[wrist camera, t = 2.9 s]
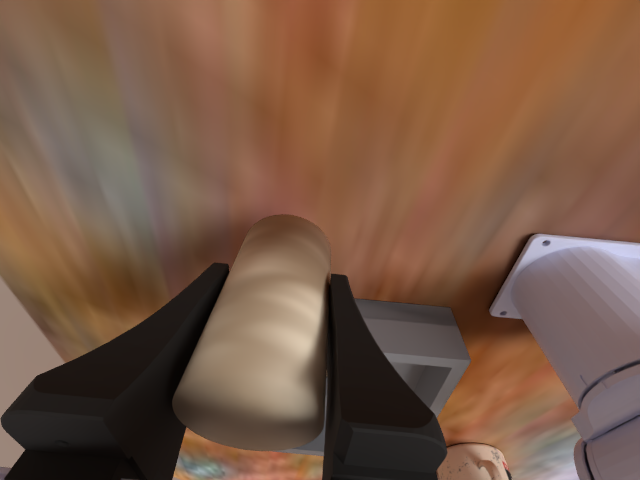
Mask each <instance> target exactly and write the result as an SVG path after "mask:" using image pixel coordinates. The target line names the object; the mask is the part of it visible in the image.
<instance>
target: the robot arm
mask: <svg viewBox="0 0 640 480" xmlns="http://www.w3.org/2000/svg"><path fill="white" fill-rule="evenodd" d="M546 240H547V241H546ZM544 241H546V242H544ZM543 242H544V243H543ZM228 275H229V266H228V264H223V263H213V264H212V265H211V266H210V267H209V268H208V269H206V270H205V271H204V272H203V273H202V274H201V275H200V276H199V277H198V278H197V279H196V280H194V281H193V282H192V283H191V284H190V285H189V286H188V287H187V288H185V289H184V290H183V291H182V292H181V293H180V294H178V295H177V296H176V297H175V298H174V299H172V300H171V301H170V302H168V303H167V304H166V305H165V306H163V307H162V308H161V309H160V310H158V311H157V312H156V313H154V314H153V315H151V316H150V317H149V318H147V319H146V320H144V321H143V322H141V323H140V324H138V325H137V326H135V327H133V328H132V329H130V330H128V331H127V332H125V333H123V334H122V335H120V336H118V337H116V338H115V339H113V340H111V341H110V342H108V343H106V344H104V345H102V346H100V347H98V348H96V349H95V350H93V351H91V352H89V353H87V354H85V355H83V356H80V357H78V358H76V359H74V360H72V361H70V362H67V363H65V364H63V365H61V366H59V367H56V368H54V369H52V370H49V371H47V372H45V373H42V374H40V375H38V376H36V377H35V379H34V380H33V381H32V382H31V383H30V384H29V385H28V387H26V388H25V390H24V391H23V392H22V393H21V394H20V396H19V397H18V398H17V399H16V400H15V401H14V402H13V404H12V405H11V406H10V407H9V408H8V409H7V410H6V412H5V413H4V414H3V415H2V417H1V424H2V427H3V428H4V430H5V431H6V432H7V433H8V434H9V435H10V436H11V437H13V438H14V439H15V440H16V441H17V442H18V443H19V444H20V445H21V446H22V447H23V448H24V449H25V451H24V452H23V454H22V455H21V457H20V458H19V459H18V460H17V462H16V463H15V464H14V466H13V467H12V468H6V467H0V480H172V478H173V475H174V471H175V467H176V463H177V459H178V455H179V451H180V448H181V444H182V440H183V437H184V433H185V430H186V426H185V425H184V424H183V423H182V422H181V421H180V420H179V419H178V418H177V416H176V415H175V413H174V411H173V407H172V400H173V396H174V394H175V392H176V390H177V387H178V385H179V383H180V381H181V379H182V376H183V374H184V372H185V370H186V368H187V365H188V363H189V361H190V359H191V356H192V354H193V352H194V350H195V348H196V345H197V343H198V341H199V339H200V337H201V334H202V332H203V330H204V328H205V325H206V323H207V321H208V319H209V317H210V314H211V312H212V310H213V308H214V306H215V303H216V301H217V299H218V297H219V294H220V292H221V290H222V288H223V286H224V283H225V281H226V279H227V277H228ZM489 312H490V314H491V315H492V316H495V317H505V318H516V319H523V321H524V322H525V324H526V326H527V327H528V329H529V330H530V332H531V333H532V335H533V337H534V338H535V340H536V341H537V343H538V345H539V346H540V348H541V349H542V351H543V353H544V354H545V356H546V357H547V359H548V361H549V362H550V364H551V365H552V367H553V369H554V370H555V372H556V373H557V375H558V377H559V378H560V380H561V381H562V383H563V385H564V386H565V388H566V389H567V391H568V393H569V394H570V396H571V397H572V399H573V401H574V402H575V404H576V405H577V407H578V409H579V410H580V411H579V412H578V413H577V414H576V415H575V416H573V417H572V418H571V420H572V422H573V423H574V425H575V427H576V428H577V430H578V432H579V433H580V435H581V437H582V438H581V439H580V440H579V441H578V442H577V443H576V445H575V448H574V461H575V466H576V470H577V474H578V476H579V479H580V480H640V243H632V242H622V241H611V240H600V239H590V238H579V237H568V236H558V235H547V234H535V235H533V236H531V237H530V239H529V240H528V242H527V244H526V245H525V247H524V249H523V251H522V252H521V254H520V256H519V258H518V259H517V261H516V263H515V265H514V267H513V268H512V270H511V272H510V274H509V275H508V277H507V279H506V281H505V282H504V284H503V286H502V288H501V289H500V291H499V293H498V295H497V297H496V298H495V300H494V302H493V304H492V305H491V307H490V309H489ZM447 453H448V452H447V448H446V443H445V439H444V436H443V433H442V431H441V428H440V425H439V423H438V420H437V418H436V416H435V414H434V413H433V412H432V411H431V410H430V409H429V407H428V406H427V405H426V404H425V403H424V402H423V401H422V400H421V399H420V398H419V397H418V396H417V395H416V394H415V393H414V391H413V390H412V389H411V388H410V387H409V386H408V385H407V383H406V382H405V381H404V380H403V379H402V377H401V376H400V375H399V373H398V372H397V371H396V370H395V368H394V367H393V366H392V364H391V363H390V362H389V360H388V359H387V358H386V356H385V355H384V353H383V352H382V350H381V349H380V347H379V346H378V344H377V343H376V341H375V339H374V338H373V336H372V334H371V332H370V331H369V329H368V327H367V325H366V323H365V321H364V319H363V317H362V315H361V313H360V311H359V309H358V306H357V304H356V302H355V299H354V297H353V294H352V291H351V289H350V285H349V282H348V278H347V276H346V275H338V274H331V280H330V292H329V322H328V347H327V406H326V425H325V443H324V460H323V476H322V480H438V478H437V474H436V470H437V469H438V468H439V466H440V465H441V464H442V462H443V461H444V460H445V458H446V456H447Z"/></svg>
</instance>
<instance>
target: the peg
mask: <svg viewBox="0 0 640 480" xmlns="http://www.w3.org/2000/svg"><path fill="white" fill-rule="evenodd" d="M330 271H331V247H330V243H329V241H328V239H327V237H326V235H325V234H324V233H323V232H322V230H321V229H320V228H319V227H317V226H316V225H315V224H313V223H312V222H310V221H308V220H306V219H304V218H301V217H298V216H294V215H283V214H282V215H273V216H269V217H266V218H264V219H262V220H260V221H258V222H257V223H255V224H254V225H253V226H252V227H251V228H250V230H249V231H248V233H247V235H246V237H245V239H244V241H243V244H242V246H241V248H240V250H239V252H238V255H237V257H236V259H235V261H234V263H233V266H232V268H231V270H230V272H229V275H228V277H227V279H226V281H225V283H224V286H223V288H222V290H221V292H220V294H219V297H218V299H217V301H216V303H215V306H214V308H213V310H212V312H211V314H210V317H209V319H208V321H207V323H206V325H205V328H204V330H203V332H202V334H201V337H200V339H199V341H198V343H197V345H196V348H195V350H194V352H193V354H192V356H191V359H190V361H189V363H188V365H187V368H186V370H185V372H184V374H183V376H182V379H181V381H180V383H179V385H178V387H177V390H176V392H175V394H174V396H173V400H172V407H173V411H174V413H175V415H176V416H177V418H178V419H179V420H180V421H181V422H182V423H183V424H184V425H185V426H186V427H187V428H189V429H190V430H191V431H193V432H195V433H196V434H198V435H200V436H202V437H204V438H206V439H208V440H211V441H213V442H216V443H219V444H222V445H226V446H230V447H234V448H239V449H245V450H254V451H279V450H287V449H292V448H296V447H300V446H302V445H305V444H307V443H309V442H311V441H313V440H314V439H315V438H317V437H318V436H319V435H320V433H321V432H322V430H323V428H324V421H325V397H326V372H327V347H328V322H329V292H330Z"/></svg>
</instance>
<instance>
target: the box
mask: <svg viewBox="0 0 640 480" xmlns="http://www.w3.org/2000/svg"><path fill="white" fill-rule="evenodd" d="M355 302H356V304H357V306H358V309H359V311H360V313H361V315H362V317H363V319H364V321H365V323H366V325H367V327H368V329H369V331H370V332H371V334H372V336H373V338H374V339H375V341H376V343H377V344H378V346H379V347H380V349H381V350H382V352H383V353H384V355H385V356H386V358H387V359H388V360H389V362H390V363H391V364H392V366H393V367H394V368H395V370H396V371H397V372H398V373H399V375H400V376H401V377H402V379H403V380H404V381H405V382H406V383H407V385H408V386H409V387H410V388H411V389H412V390H413V391H414V393H415V394H416V395H417V396H418V397H419V398H420V399H421V400H422V401H423V402H424V403H425V404H426V405H427V406H428V407H429V409H430V410H431V411H432V412H433V413H434V414H435V416H436V418H437V417H438V415H439V413H440V412H441V410H442V408H443V407H444V405H445V403H446V402H447V400H448V399H449V397H450V395H451V394H452V392H453V390H454V389H455V387H456V385H457V384H458V382H459V380H460V379H461V377H462V375H463V374H464V372H465V370H466V369H467V367H468V365H469V364H470V362H471V359H470V356H469V354H468V351H467V349H466V346H465V344H464V341H463V339H462V336H461V334H460V331H459V328H458V326H457V323H456V321H455V318H454V316H453V313H452V311H451V308H450V307H439V306H428V305H418V304H407V303H396V302H385V301H375V300H364V299H355ZM326 406H327V377H326V397H325V421H324V428H323V430H322V432H321V433H320V435H319V436H318V437H317V438H315V439H314V440H313V441H311V442H309V443H307V444H305V445H302V446H300V447H296V448H292V449H287V450H279V451H274V452H285V453H296V454H307V455H318V456H324V443H325V425H326Z"/></svg>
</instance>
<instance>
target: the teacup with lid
mask: <svg viewBox="0 0 640 480" xmlns="http://www.w3.org/2000/svg"><path fill="white" fill-rule="evenodd" d="M447 452H448V453H447V456H446V458H445V460H444V461H443V462H442V464H441V465H440V466H439V468H438V469H437V471H438V475H439V480H512V477H511V474H510V472H509V469H508V466H507V464H506V461H505V459H504V456H503V454H502V453H501V452H500V451H499V450H498V449H497V448H495V447H492V446H490V445H486V444H479V443H466V444H458V445H454V446H450V447H448V448H447Z"/></svg>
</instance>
